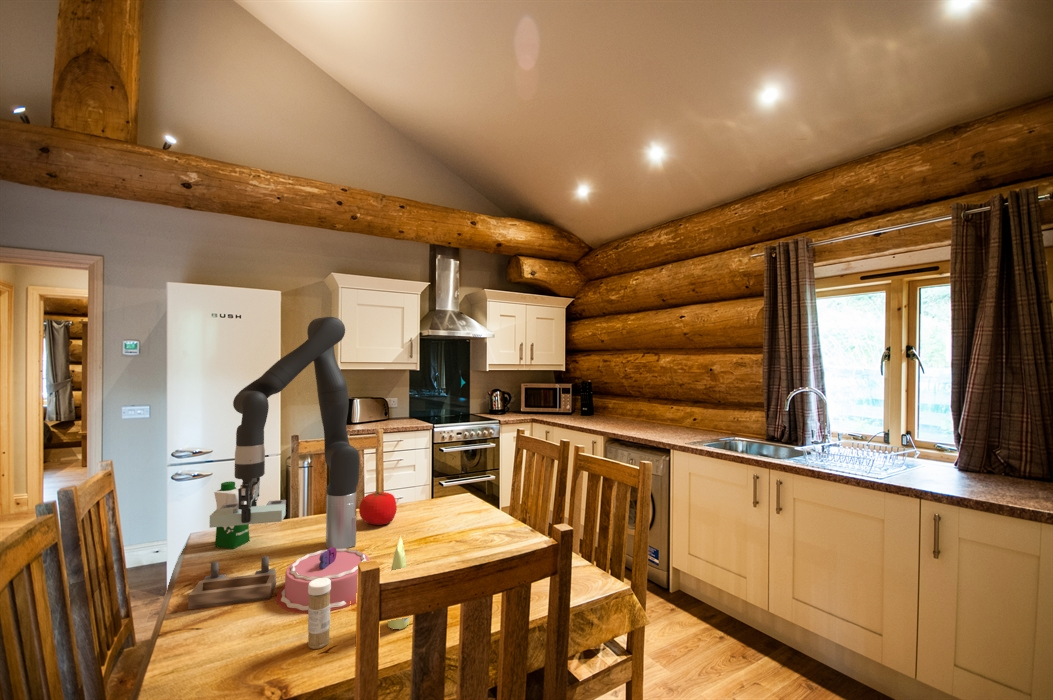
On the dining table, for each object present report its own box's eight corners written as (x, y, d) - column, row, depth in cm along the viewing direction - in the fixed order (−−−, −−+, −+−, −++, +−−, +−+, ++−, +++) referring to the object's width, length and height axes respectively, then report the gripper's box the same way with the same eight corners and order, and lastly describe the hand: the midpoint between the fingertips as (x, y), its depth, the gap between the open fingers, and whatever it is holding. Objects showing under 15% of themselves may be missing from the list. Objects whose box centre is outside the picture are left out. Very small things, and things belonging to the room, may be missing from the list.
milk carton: (231, 538, 165) (232, 479, 165) (254, 540, 163) (255, 480, 163) (209, 548, 156) (210, 485, 156) (233, 550, 154) (235, 487, 155)
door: (288, 509, 149) (288, 496, 149) (281, 521, 139) (281, 507, 139) (221, 515, 144) (221, 501, 144) (209, 527, 134) (209, 512, 134)
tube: (381, 624, 113) (382, 540, 114) (399, 615, 117) (401, 534, 117) (395, 633, 110) (397, 546, 110) (414, 624, 114) (415, 540, 114)
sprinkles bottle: (324, 635, 109) (325, 575, 109) (333, 643, 106) (334, 581, 106) (303, 643, 105) (304, 581, 106) (312, 652, 102) (313, 588, 102)
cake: (313, 566, 145) (313, 530, 145) (392, 573, 141) (393, 536, 141) (253, 609, 120) (254, 566, 120) (347, 619, 116) (348, 574, 116)
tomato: (402, 518, 186) (403, 488, 186) (384, 531, 173) (385, 498, 173) (372, 515, 189) (373, 485, 189) (352, 528, 176) (353, 495, 176)
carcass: (277, 581, 134) (278, 554, 134) (269, 599, 124) (270, 570, 124) (202, 589, 129) (203, 562, 129) (188, 609, 119) (188, 579, 119)
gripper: (258, 464, 134) (257, 525, 133) (269, 454, 147) (268, 509, 147) (227, 466, 131) (226, 528, 131) (241, 455, 145) (241, 511, 145)
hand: (249, 518), depth 139 cm, fingers closed on door, 6 cm apart
